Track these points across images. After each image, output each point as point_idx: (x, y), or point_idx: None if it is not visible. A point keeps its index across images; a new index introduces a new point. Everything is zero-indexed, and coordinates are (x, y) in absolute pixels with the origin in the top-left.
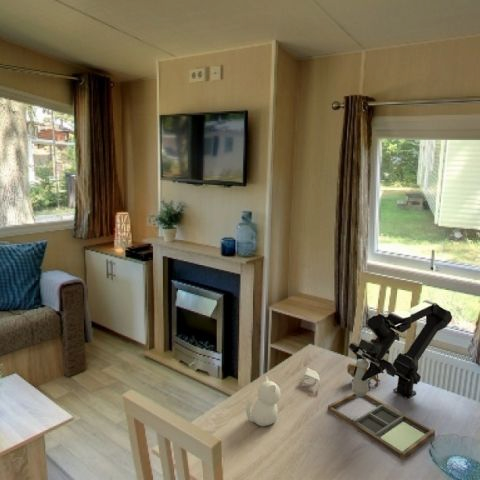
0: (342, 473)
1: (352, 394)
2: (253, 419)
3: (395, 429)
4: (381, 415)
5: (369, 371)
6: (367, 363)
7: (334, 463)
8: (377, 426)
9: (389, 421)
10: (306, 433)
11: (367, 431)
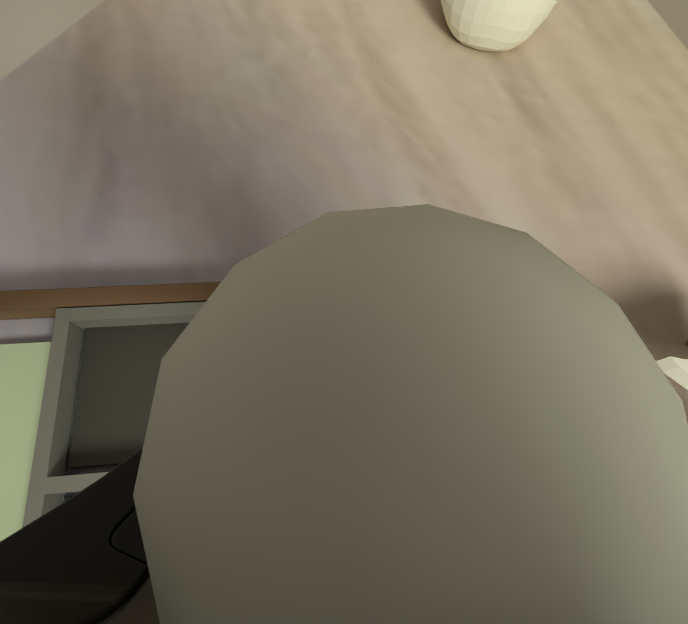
0: (66, 40)
1: None
2: None
3: (6, 510)
4: None
5: (111, 480)
6: (157, 531)
7: (123, 54)
8: (120, 421)
9: None
10: (327, 88)
11: (113, 291)
